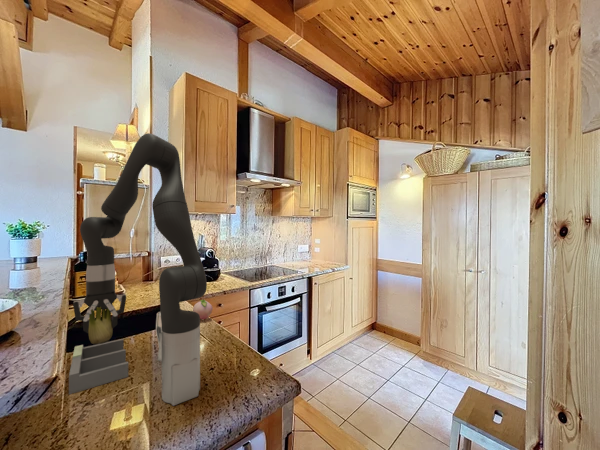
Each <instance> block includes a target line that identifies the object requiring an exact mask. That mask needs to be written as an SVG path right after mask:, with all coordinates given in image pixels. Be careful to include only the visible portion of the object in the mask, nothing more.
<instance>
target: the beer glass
mask: <svg viewBox="0 0 600 450" xmlns="http://www.w3.org/2000/svg"><path fill="white" fill-rule="evenodd" d="M155 332H156V333H155V334H156V338H157V343H158V344H157V345H158V353H157V359H156V360H157V361H159V362H162V323H161V314H160V311H158V312H157V313H156V318H155Z"/></svg>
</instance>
